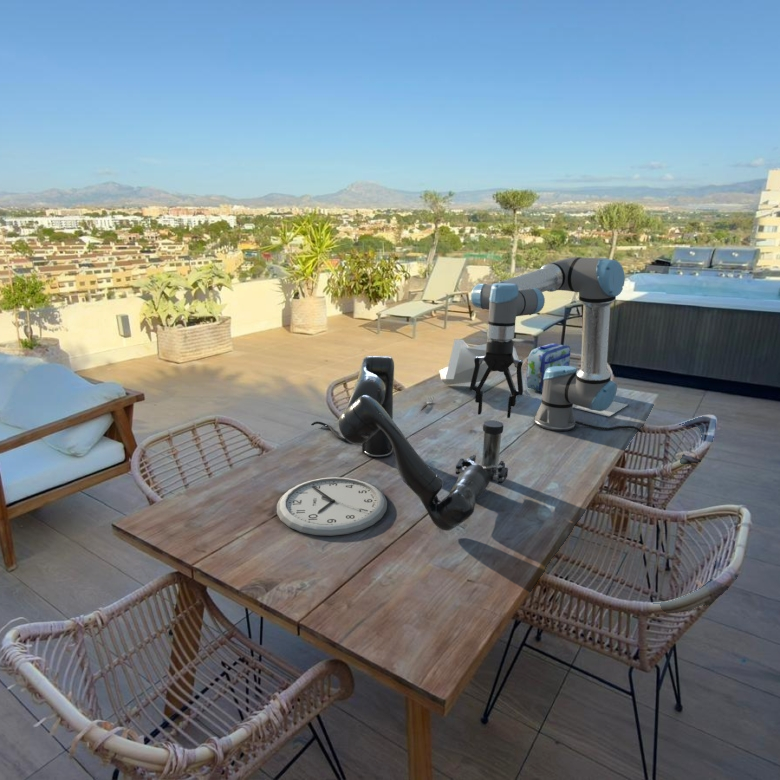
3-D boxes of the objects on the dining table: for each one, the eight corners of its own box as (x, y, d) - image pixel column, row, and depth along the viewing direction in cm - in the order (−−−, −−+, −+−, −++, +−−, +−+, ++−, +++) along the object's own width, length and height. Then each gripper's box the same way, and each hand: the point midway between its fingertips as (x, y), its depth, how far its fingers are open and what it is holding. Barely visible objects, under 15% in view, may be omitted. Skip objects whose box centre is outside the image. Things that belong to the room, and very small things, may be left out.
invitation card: (608, 416, 214) (573, 407, 224) (608, 416, 214) (573, 408, 224) (628, 404, 229) (594, 396, 238) (628, 405, 229) (594, 397, 238)
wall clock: (392, 527, 129) (268, 531, 127) (391, 533, 130) (269, 537, 127) (383, 473, 158) (282, 475, 155) (383, 478, 158) (282, 480, 156)
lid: (479, 428, 159) (480, 420, 158) (498, 426, 160) (498, 419, 159) (487, 435, 153) (488, 427, 152) (506, 433, 154) (506, 426, 154)
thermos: (478, 473, 163) (482, 422, 158) (493, 472, 164) (497, 421, 159) (484, 480, 158) (488, 428, 153) (499, 479, 159) (504, 427, 154)
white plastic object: (461, 429, 252) (437, 405, 227) (444, 352, 274) (420, 323, 250) (535, 404, 240) (518, 377, 215) (510, 326, 262) (492, 293, 237)
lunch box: (542, 395, 240) (547, 351, 233) (522, 390, 247) (526, 347, 241) (569, 384, 257) (575, 343, 251) (550, 380, 264) (554, 339, 258)
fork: (417, 411, 216) (418, 406, 216) (428, 400, 231) (428, 395, 230) (423, 412, 215) (424, 407, 215) (434, 400, 230) (434, 396, 229)
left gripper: (498, 476, 139) (512, 454, 153) (448, 465, 145) (466, 444, 159) (496, 501, 141) (510, 477, 155) (446, 489, 147) (464, 467, 161)
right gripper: (538, 339, 149) (530, 414, 155) (466, 334, 155) (461, 406, 161) (537, 344, 142) (529, 423, 149) (461, 338, 148) (457, 414, 154)
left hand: (488, 460), depth 157 cm, fingers open, 8 cm apart
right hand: (494, 414), depth 155 cm, fingers open, 8 cm apart
